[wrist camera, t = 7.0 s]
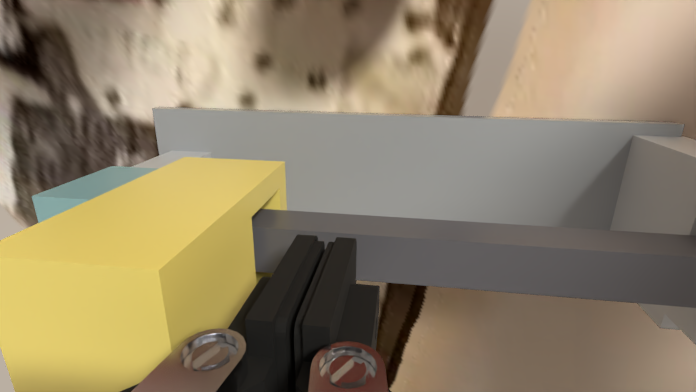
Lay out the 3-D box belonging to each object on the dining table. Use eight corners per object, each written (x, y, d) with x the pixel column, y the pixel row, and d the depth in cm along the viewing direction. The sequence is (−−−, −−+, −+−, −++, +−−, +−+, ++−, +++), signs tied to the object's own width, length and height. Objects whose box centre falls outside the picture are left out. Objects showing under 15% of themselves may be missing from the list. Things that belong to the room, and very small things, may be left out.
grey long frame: (680, 122, 17) (918, 180, 9) (638, 271, 19) (798, 420, 11) (159, 107, 20) (-3, 140, 12) (178, 237, 22) (52, 337, 14)
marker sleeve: (284, 161, 15) (158, 270, 7) (289, 265, 17) (187, 446, 9) (184, 157, 16) (-31, 254, 8) (197, 258, 17) (25, 423, 9)
